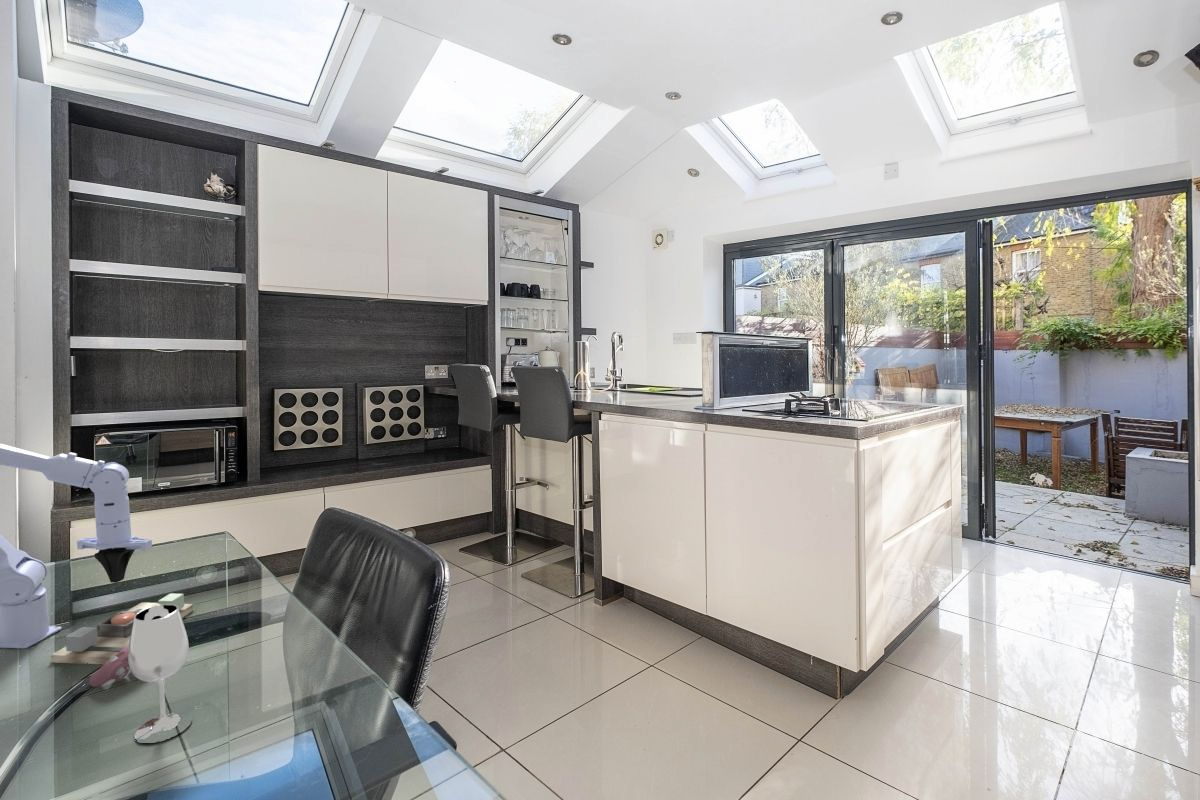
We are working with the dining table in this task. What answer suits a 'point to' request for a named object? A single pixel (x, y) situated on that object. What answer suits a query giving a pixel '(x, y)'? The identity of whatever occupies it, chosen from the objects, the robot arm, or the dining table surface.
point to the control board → (108, 639)
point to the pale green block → (173, 600)
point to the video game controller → (112, 669)
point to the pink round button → (123, 618)
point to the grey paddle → (81, 639)
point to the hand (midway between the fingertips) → (117, 580)
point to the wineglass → (158, 657)
